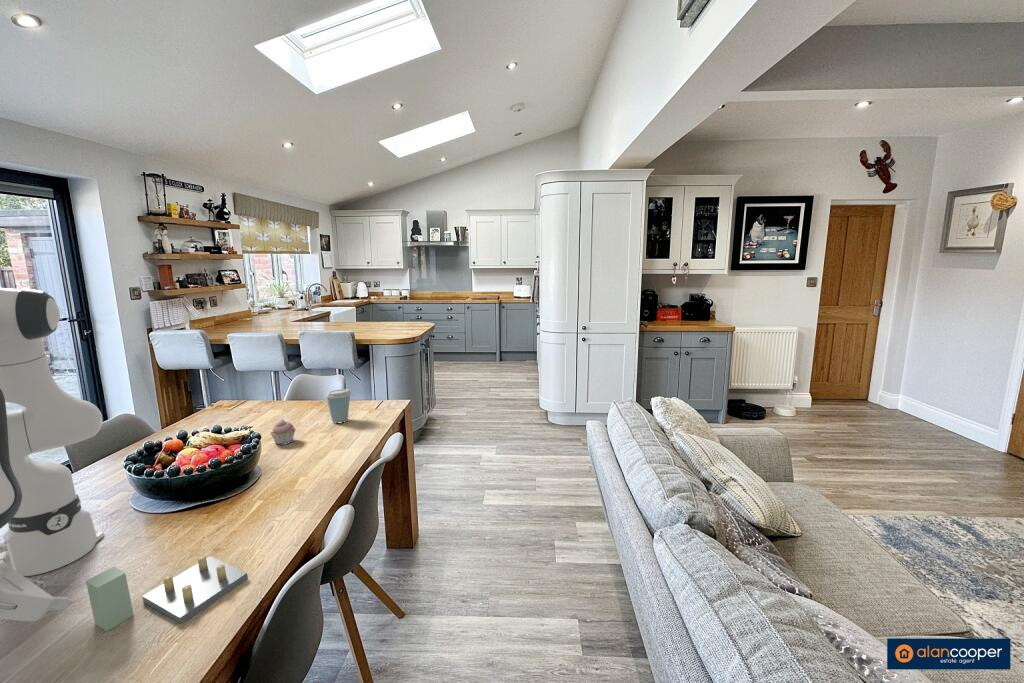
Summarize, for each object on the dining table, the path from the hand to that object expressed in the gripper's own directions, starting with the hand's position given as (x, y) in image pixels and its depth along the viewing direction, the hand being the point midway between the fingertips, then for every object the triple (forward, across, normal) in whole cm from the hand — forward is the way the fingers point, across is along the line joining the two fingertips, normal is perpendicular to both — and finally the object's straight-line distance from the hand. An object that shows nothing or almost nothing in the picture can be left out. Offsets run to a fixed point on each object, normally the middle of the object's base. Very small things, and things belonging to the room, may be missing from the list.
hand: (53, 595), depth 79 cm
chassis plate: (+22, -7, -6) cm, 24 cm away
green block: (+13, 0, +3) cm, 14 cm away
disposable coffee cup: (+86, +45, -70) cm, 120 cm away
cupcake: (+67, +48, -51) cm, 97 cm away
